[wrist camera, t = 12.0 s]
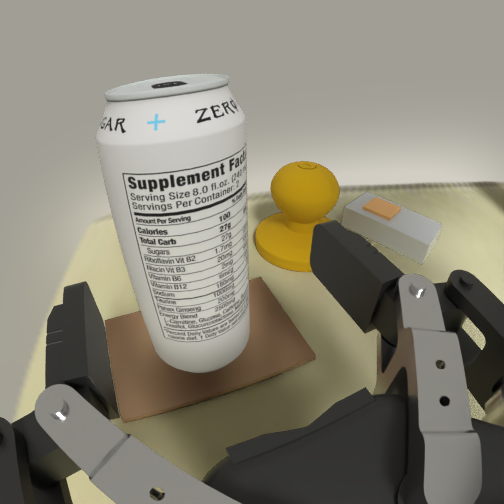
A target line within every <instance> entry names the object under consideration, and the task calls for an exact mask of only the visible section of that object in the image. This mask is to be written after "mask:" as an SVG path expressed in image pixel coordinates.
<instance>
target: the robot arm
mask: <svg viewBox="0 0 504 504" xmlns="http://www.w3.org/2000/svg"><path fill="white" fill-rule="evenodd" d="M310 266H311V269H312V271H313V273H314V275H315V276H316V277H317V278H318V279H319V280H320V282H321V283H322V284H323V285H324V286H325V287H326V289H327V290H328V291H329V292H330V293H331V294H332V295H333V297H334V298H335V299H336V300H337V301H338V302H339V304H340V305H341V306H342V307H343V308H344V309H345V311H346V312H347V313H348V314H349V315H350V317H351V318H352V319H353V320H354V321H355V322H356V324H357V325H358V326H359V327H360V328H361V330H362V331H363V332H364V333H367V332H370V331H372V330H374V329H377V330H378V331H379V333H378V336H377V382H376V386H375V389H374V393H373V395H371V394H370V393H369V391H368V390H367V389H366V387H365V388H363V389H362V390H360V391H358V392H356V393H354V394H352V395H350V396H348V397H346V398H344V399H342V400H340V401H338V402H336V403H335V404H334V405H333V406H332V407H330V408H329V409H328V410H327V411H326V412H325V413H323V414H322V415H321V416H320V417H319V418H317V419H316V420H315V421H314V422H313V423H311V424H310V425H309V426H307V427H304V428H300V429H294V430H289V431H282V432H276V433H270V434H264V435H261V436H258V437H256V438H253V439H250V440H248V441H245V442H242V443H239V444H236V445H233V446H231V447H228V448H226V450H227V454H228V457H226V458H225V459H223V460H221V461H220V462H219V463H218V464H216V465H215V466H214V467H213V468H212V469H211V470H210V471H209V472H208V473H207V474H206V476H205V477H204V479H203V480H202V481H199V480H198V479H196V478H194V477H193V476H191V475H189V474H188V473H186V472H184V471H183V470H181V469H180V468H178V467H177V466H175V465H174V464H172V463H170V462H169V461H167V460H166V459H164V458H163V457H162V456H160V455H159V454H157V453H156V452H154V451H153V450H151V449H150V448H149V447H147V446H146V445H144V444H143V443H142V442H140V441H139V440H138V439H136V438H135V437H133V436H131V435H130V434H126V433H124V432H123V431H122V430H120V429H119V428H118V427H117V426H115V425H114V424H113V423H112V422H111V421H110V419H115V418H119V412H118V407H117V402H116V397H115V391H114V386H113V380H112V374H111V367H110V361H109V353H108V346H107V338H106V331H105V326H104V322H103V319H102V316H101V314H100V312H99V309H98V307H97V305H96V303H95V300H94V298H93V295H92V293H91V291H90V288H89V286H88V284H87V282H86V281H85V282H81V283H77V284H73V285H70V286H66V287H64V294H63V304H61V305H57V306H54V307H53V309H52V311H51V313H50V315H49V317H48V320H47V336H46V344H47V346H46V370H45V378H46V387H45V390H44V391H43V392H42V393H41V394H40V395H39V397H38V399H37V401H36V404H35V410H34V411H33V412H31V413H30V414H28V415H26V416H24V417H23V418H21V419H19V420H17V421H15V422H13V423H12V424H10V423H9V422H8V421H7V420H5V419H4V418H1V417H0V504H73V503H72V500H71V496H70V492H69V488H68V484H67V480H66V477H68V476H70V475H72V474H74V473H76V472H77V471H79V470H81V469H82V470H83V471H84V472H85V473H86V474H87V475H88V476H89V479H90V480H91V482H92V483H93V484H94V485H95V486H96V487H97V488H99V489H100V490H101V491H102V492H103V493H104V494H105V495H107V496H108V497H109V498H110V499H111V500H112V501H114V502H115V503H116V504H504V304H503V303H502V302H501V301H500V300H499V299H498V298H497V297H496V296H495V295H494V294H493V293H492V292H491V291H490V290H489V289H488V288H487V287H486V286H485V285H484V284H483V283H482V282H480V281H479V280H478V279H477V278H476V277H475V276H474V275H472V274H471V273H469V272H467V271H464V270H455V271H453V272H451V274H450V276H449V278H448V281H447V282H445V283H435V284H433V283H432V282H431V281H430V280H428V279H427V278H425V277H423V276H421V275H418V274H406V275H405V274H404V273H402V272H401V271H400V270H399V269H398V268H397V267H396V266H395V265H394V264H393V263H391V262H390V261H389V260H388V259H387V258H386V257H385V256H384V255H382V254H381V253H380V252H378V250H377V249H376V248H375V247H373V246H371V244H370V243H369V242H368V241H366V240H365V239H364V238H363V237H362V236H360V235H358V234H356V233H354V232H352V231H349V230H347V229H345V228H344V227H343V226H342V225H341V224H340V223H338V222H337V221H335V220H333V221H329V222H324V223H320V224H317V225H315V226H314V229H313V236H312V244H311V252H310ZM467 317H468V318H469V319H470V320H471V321H472V322H473V323H474V325H475V326H476V327H477V328H478V329H479V330H480V331H481V332H482V333H483V335H484V337H485V340H486V344H485V347H484V348H483V350H481V349H480V348H479V347H478V346H477V344H476V343H475V342H474V341H473V340H472V339H471V338H470V336H469V335H468V334H467V333H466V332H465V331H464V330H463V329H462V325H463V323H464V322H465V320H466V318H467ZM467 388H468V390H469V391H470V392H471V394H472V395H473V396H474V398H475V399H476V400H477V402H478V403H479V404H480V406H481V407H482V408H483V410H484V411H485V414H486V415H485V416H484V417H483V418H482V421H481V420H478V419H474V418H471V414H470V405H469V398H468V391H467Z"/></svg>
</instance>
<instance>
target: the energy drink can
mask: <svg viewBox="0 0 504 504" xmlns="http://www.w3.org/2000/svg"><path fill="white" fill-rule="evenodd" d="M228 83H229V77H228V76H226V75H220V74H195V75H180V76H170V77H163V78H156V79H150V80H145V81H140V82H135V83H131V84H127V85H123V86H120V87H117V88H114V89H111V90H109V91H107V92H106V93H105V98H106V100H107V106H106V109H105V113H104V116H103V118H102V121H101V124H100V127H99V130H98V132H97V136H96V142H97V148H98V153H99V158H100V163H101V168H102V173H103V177H104V182H105V187H106V191H107V195H108V199H109V204H110V208H111V212H112V216H113V220H114V224H115V228H116V231H117V235H118V239H119V242H120V246H121V250H122V253H123V256H124V260H125V263H126V267H127V270H128V273H129V276H130V280H131V283H132V286H133V289H134V292H135V295H136V298H137V301H138V304H139V307H140V310H141V313H142V316H143V319H144V322H145V324H146V327H147V330H148V333H149V335H150V338H151V341H152V343H153V346H154V348H155V351H156V352H157V354H158V355H159V356H160V358H161V359H162V360H164V361H165V362H166V363H167V364H169V365H171V366H173V367H174V368H177V369H180V370H184V371H188V372H193V373H207V372H212V371H216V370H218V369H220V368H223V367H224V366H226V365H227V364H229V363H230V362H232V361H233V360H235V359H236V358H237V357H238V356H239V355H240V354H241V353H242V351H243V350H244V348H245V347H246V345H247V342H248V340H249V334H250V314H249V266H248V215H247V164H246V163H247V161H246V118H245V116H244V114H243V112H242V110H241V109H240V107H239V105H238V104H237V102H236V101H235V99H234V97H233V96H232V94H231V92H230V91H229V89H228Z"/></svg>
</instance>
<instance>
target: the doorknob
mask: <svg viewBox="0 0 504 504" xmlns="http://www.w3.org/2000/svg"><path fill="white" fill-rule="evenodd" d="M271 194H272V197H273V200H274V202H275V203H276V205H277V206H278V208H279V209H280V210H281V211H282V213H277V214H274V215H272V216H269V217H267V218H266V219H264V220H263V221H262V222H261V223H260V224H259V225H258V227H257V229H256V247H257V250H258V252H259V253H260V254H261V256H262V257H263V258H264V259H266V260H267V261H268V262H270V263H272V264H274V265H276V266H278V267H281V268H284V269H287V270H292V271H301V272H310V271H312V269H311V266H310V252H311V244H312V236H313V229H314V226H315V225H317V224H320V223H324V222H329V221H332V220H330V219H329V218H326V217H324V216H325V215H326V214H327V213H329V212H330V211H331V210H332V208H333V207H334V206H335V204H336V202H337V200H338V198H339V194H340V189H339V185H338V182H337V180H336V178H335V176H334V175H333V173H332V172H331V171H329V170H328V169H327V168H326V167H324V166H322V165H320V164H317V163H313V162H307V161H306V162H305V161H300V162H294V163H290V164H288V165H286V166H284V167H282V168H281V169H280V170H279V171H278V172H277V173H276V174H275V176H274V178H273V180H272V182H271Z"/></svg>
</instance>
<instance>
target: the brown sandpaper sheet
mask: <svg viewBox="0 0 504 504" xmlns="http://www.w3.org/2000/svg"><path fill="white" fill-rule="evenodd" d="M249 314H250V334H249V340H248V342H247V345H246V347H245V348H244V350H243V351H242V353H241V354H240V355H239V356H238V357H237V358H236V359H235V360H233V361H232V362H230V363H229V364H227V365H226V366H224V367H223V368H220V369H218V370H216V371H212V372H207V373H193V372H188V371H184V370H180V369H177V368H174V367H173V366H171V365H169V364H167V363H166V362H165V361H164V360H162V359H161V358H160V356H159V355H158V354H157V352H156V351H155V348H154V346H153V343H152V341H151V338H150V335H149V333H148V330H147V327H146V324H145V322H144V319H143V316H142V313H141V311H138V312H134V313H131V314H127V315H123V316H119V317H116V318H112V319H108V320H105V326H106V334H107V342H108V349H109V355H110V362H111V368H112V374H113V380H114V385H115V390H116V395H117V400H118V405H119V410H120V415H121V419H122V421H123V422H129V421H133V420H137V419H141V418H145V417H149V416H152V415H156V414H160V413H164V412H167V411H171V410H174V409H178V408H181V407H185V406H188V405H191V404H195V403H198V402H201V401H204V400H207V399H210V398H213V397H217V396H220V395H223V394H226V393H228V392H231V391H234V390H237V389H240V388H243V387H246V386H248V385H251V384H254V383H257V382H259V381H262V380H265V379H267V378H270V377H272V376H275V375H278V374H280V373H283V372H285V371H288V370H290V369H293V368H295V367H297V366H300V365H302V364H305V363H307V362H309V361H312V360H314V359H315V356H316V355H315V354H314V352H313V351H312V350H311V348H310V347H309V345H308V344H307V342H306V341H305V340H304V338H303V337H302V335H301V334H300V332H299V331H298V330H297V328H296V327H295V325H294V324H293V323H292V321H291V320H290V318H289V317H288V315H287V314H286V313H285V311H284V310H283V308H282V307H281V305H280V304H279V302H278V301H277V300H276V298H275V297H274V295H273V294H272V292H271V291H270V290H269V288H268V287H267V285H266V284H265V282H264V281H263V280H262V278H261V277H259V278H255V279H252V280H249Z"/></svg>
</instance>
